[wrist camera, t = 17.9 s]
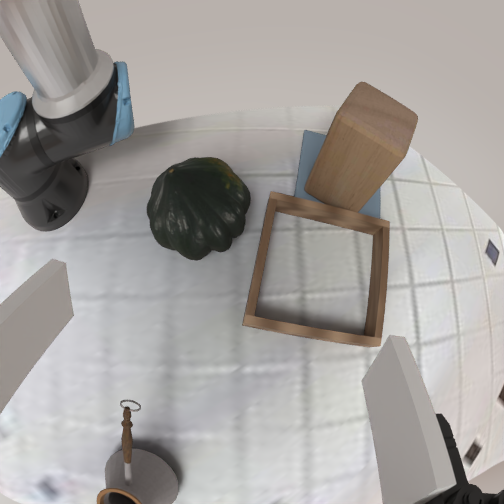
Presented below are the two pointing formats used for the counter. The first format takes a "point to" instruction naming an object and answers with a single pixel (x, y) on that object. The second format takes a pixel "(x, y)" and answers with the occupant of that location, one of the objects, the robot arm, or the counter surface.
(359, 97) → the block
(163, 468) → the coffee pot
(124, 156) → the counter surface
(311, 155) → the rubber mat
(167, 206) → the squash
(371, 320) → the walnut frame
